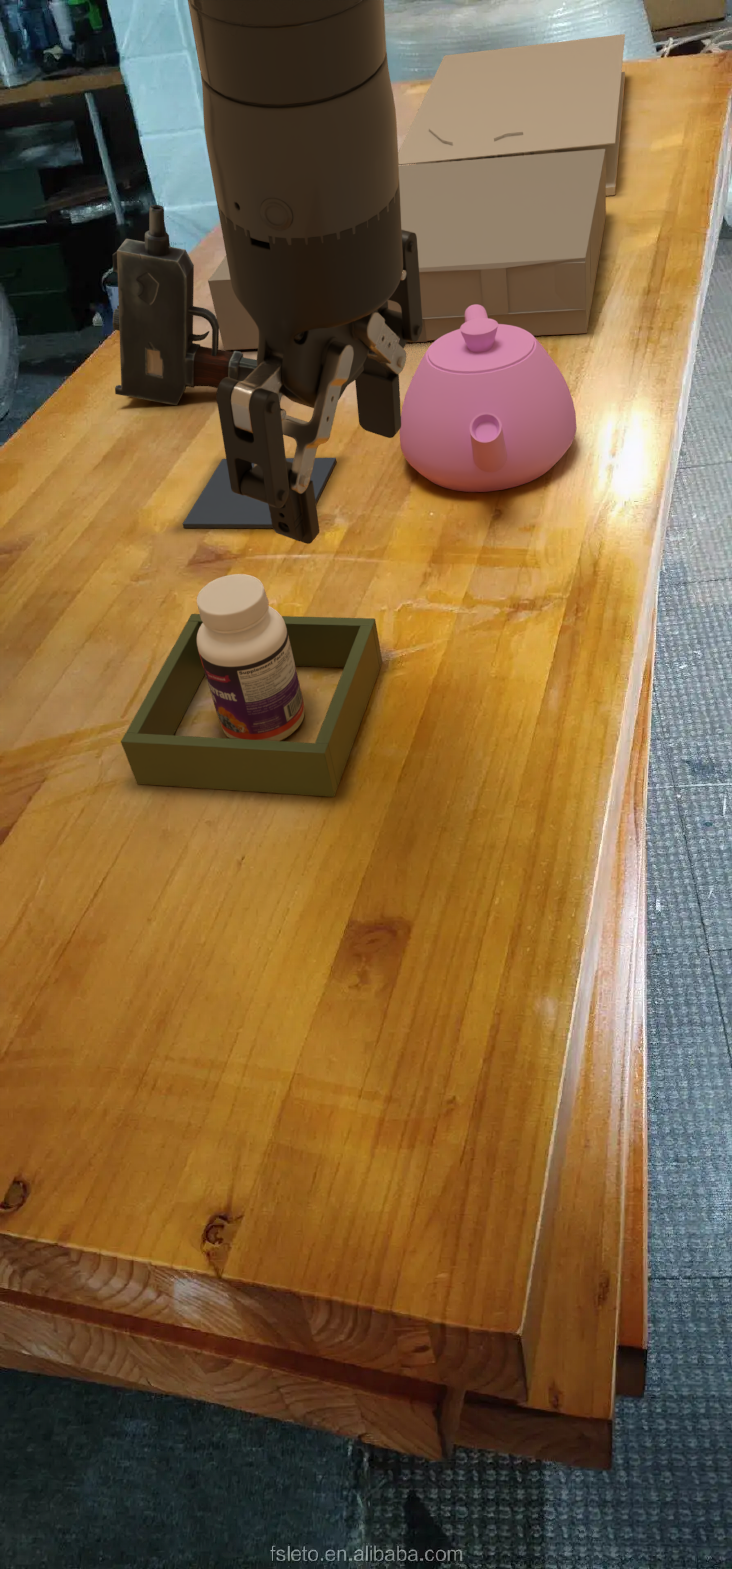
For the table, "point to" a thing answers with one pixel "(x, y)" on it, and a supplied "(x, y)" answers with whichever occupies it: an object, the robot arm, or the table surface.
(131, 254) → the gun
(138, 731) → the square frame
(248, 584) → the pill bottle
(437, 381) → the teapot
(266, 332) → the robot arm
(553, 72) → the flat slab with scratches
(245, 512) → the mat
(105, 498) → the table surface
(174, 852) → the table surface
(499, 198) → the box
